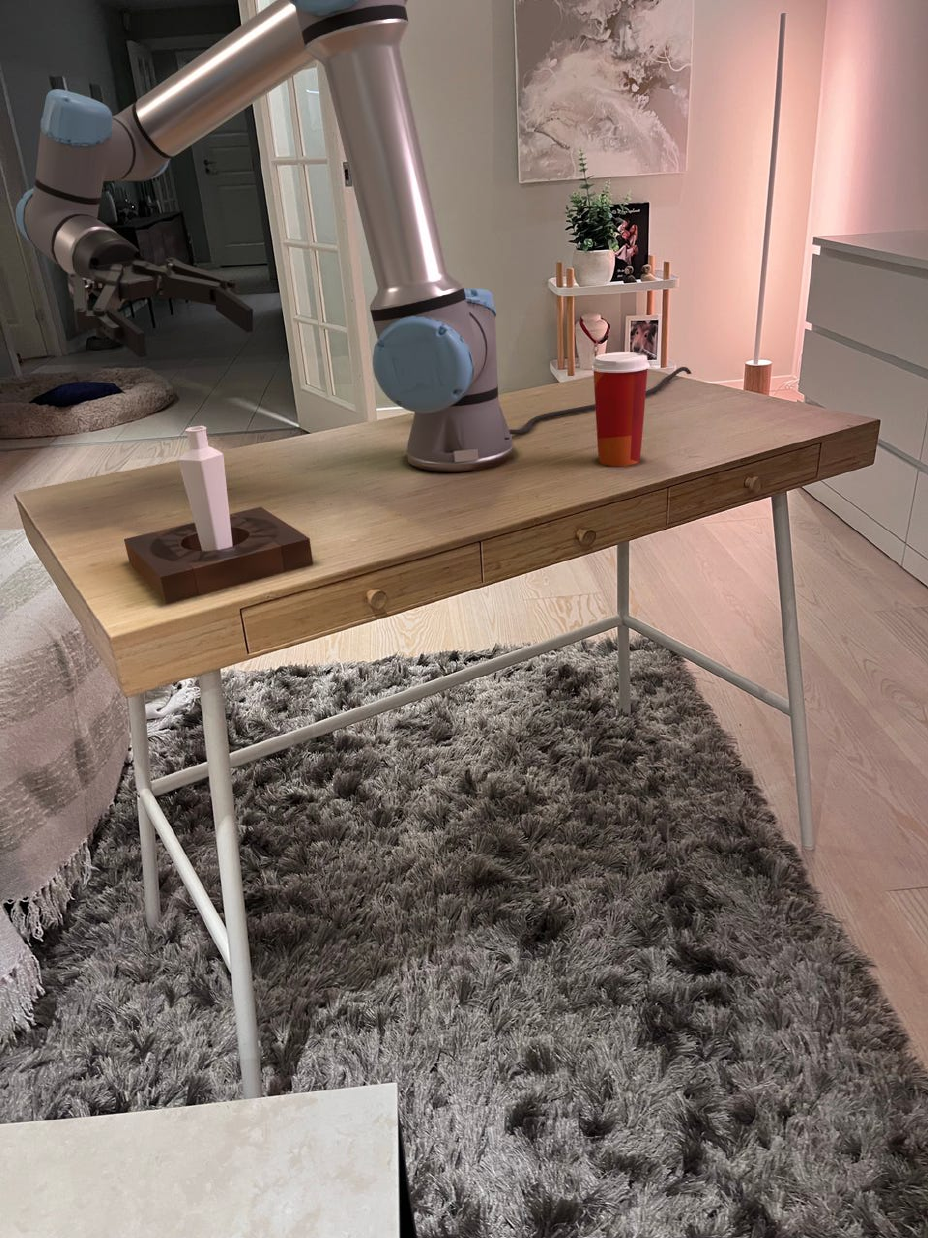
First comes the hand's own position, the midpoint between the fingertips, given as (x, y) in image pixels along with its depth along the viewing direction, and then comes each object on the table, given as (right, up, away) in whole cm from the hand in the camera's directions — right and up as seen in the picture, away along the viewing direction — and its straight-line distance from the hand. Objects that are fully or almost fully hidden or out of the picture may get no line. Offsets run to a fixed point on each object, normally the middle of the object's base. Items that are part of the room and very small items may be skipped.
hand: (198, 332), depth 104 cm
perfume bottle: (+3, -26, -1) cm, 26 cm away
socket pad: (+3, -26, -2) cm, 26 cm away
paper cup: (+51, -10, +25) cm, 57 cm away
